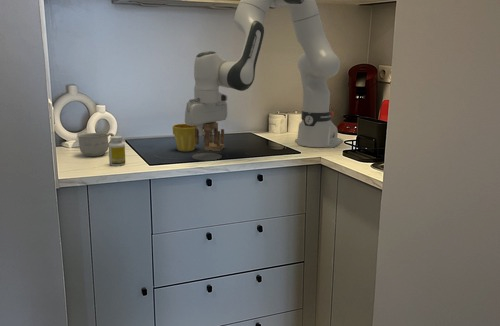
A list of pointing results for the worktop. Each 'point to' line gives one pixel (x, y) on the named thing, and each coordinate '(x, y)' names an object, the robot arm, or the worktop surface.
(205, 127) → the stool
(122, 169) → the worktop surface
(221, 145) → the upturned stool
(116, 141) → the supplement bottle
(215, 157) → the mat
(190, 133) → the plant pot
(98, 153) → the teacup
